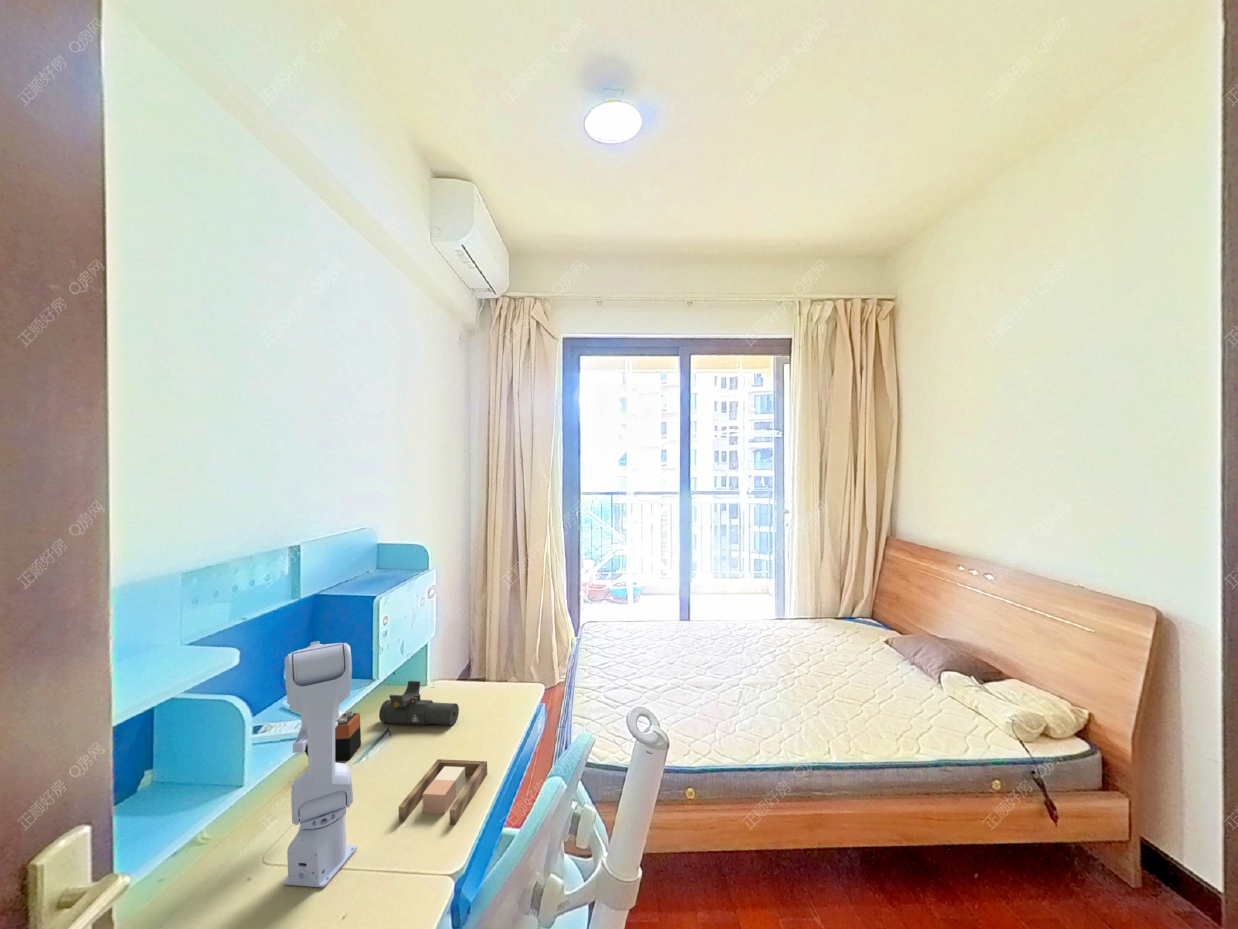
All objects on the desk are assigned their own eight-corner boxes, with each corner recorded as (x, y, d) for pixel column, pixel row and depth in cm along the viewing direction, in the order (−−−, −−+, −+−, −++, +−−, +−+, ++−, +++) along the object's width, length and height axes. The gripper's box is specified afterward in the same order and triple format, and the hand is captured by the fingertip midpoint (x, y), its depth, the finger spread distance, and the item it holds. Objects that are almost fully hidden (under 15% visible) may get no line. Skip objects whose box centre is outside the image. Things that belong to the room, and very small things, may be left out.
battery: (332, 762, 131) (330, 722, 131) (345, 747, 138) (343, 709, 138) (349, 760, 131) (348, 721, 131) (361, 746, 138) (360, 708, 138)
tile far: (456, 798, 115) (455, 780, 115) (434, 797, 116) (434, 779, 116) (465, 784, 120) (464, 767, 120) (445, 783, 121) (444, 766, 121)
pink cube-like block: (445, 814, 110) (444, 795, 110) (423, 812, 111) (422, 794, 111) (455, 798, 115) (455, 780, 115) (434, 797, 116) (433, 779, 116)
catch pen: (455, 824, 106) (455, 810, 106) (399, 821, 108) (398, 806, 108) (487, 774, 123) (487, 761, 123) (438, 771, 125) (437, 759, 125)
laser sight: (446, 734, 143) (444, 698, 143) (372, 730, 147) (370, 694, 147) (462, 716, 153) (461, 682, 153) (392, 713, 156) (391, 680, 156)
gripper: (317, 720, 103) (319, 788, 103) (351, 688, 118) (354, 747, 118) (280, 722, 103) (283, 790, 103) (320, 689, 117) (322, 749, 117)
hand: (318, 767), depth 110 cm, fingers closed
